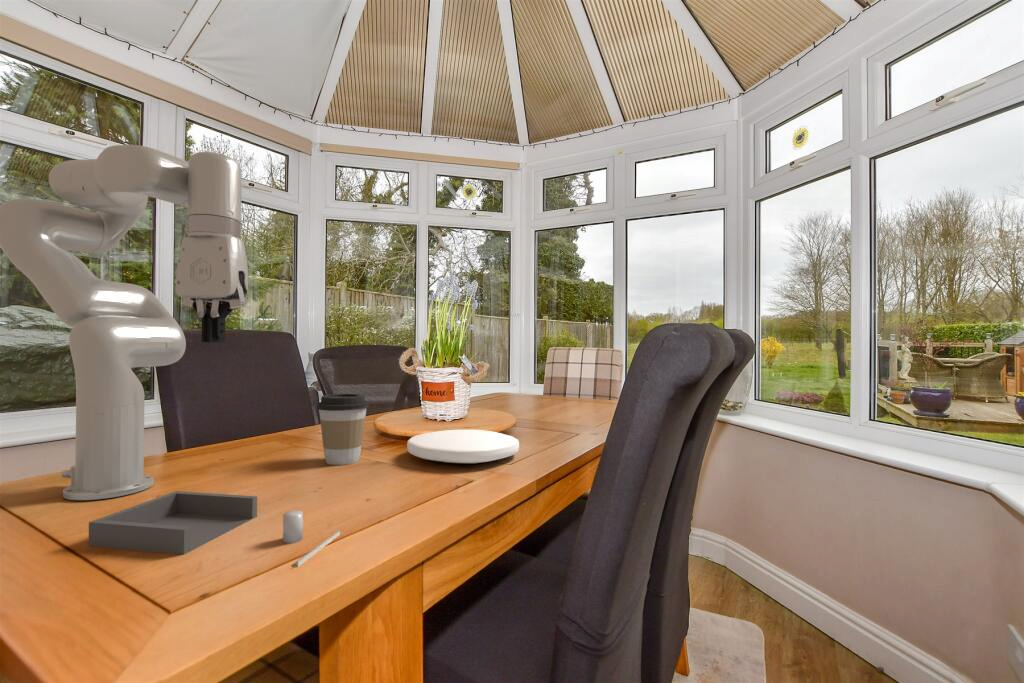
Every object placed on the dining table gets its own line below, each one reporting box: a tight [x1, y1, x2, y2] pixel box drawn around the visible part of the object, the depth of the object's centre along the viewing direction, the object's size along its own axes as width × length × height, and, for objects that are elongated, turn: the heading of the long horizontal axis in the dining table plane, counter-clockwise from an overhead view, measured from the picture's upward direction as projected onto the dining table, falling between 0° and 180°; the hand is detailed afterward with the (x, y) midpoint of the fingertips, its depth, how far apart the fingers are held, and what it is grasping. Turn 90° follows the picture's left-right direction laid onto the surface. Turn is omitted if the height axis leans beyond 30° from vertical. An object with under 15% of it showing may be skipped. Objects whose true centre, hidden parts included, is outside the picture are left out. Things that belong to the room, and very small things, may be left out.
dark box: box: [87, 490, 258, 556], centre depth 67 cm, size 14×13×4 cm
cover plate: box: [282, 510, 341, 568], centre depth 64 cm, size 12×10×5 cm
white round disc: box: [406, 429, 520, 464], centre depth 116 cm, size 28×6×27 cm
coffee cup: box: [316, 393, 370, 466], centre depth 110 cm, size 11×11×15 cm
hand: (213, 342), depth 79 cm, fingers closed
